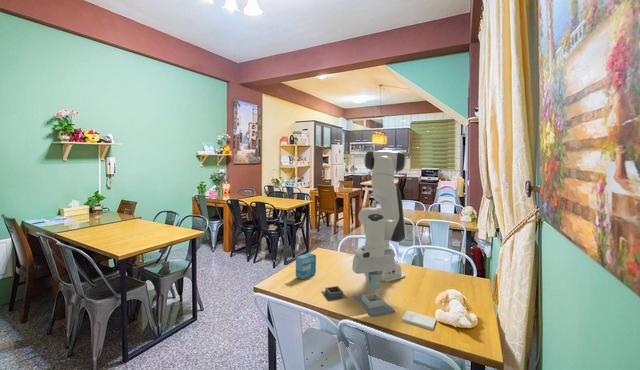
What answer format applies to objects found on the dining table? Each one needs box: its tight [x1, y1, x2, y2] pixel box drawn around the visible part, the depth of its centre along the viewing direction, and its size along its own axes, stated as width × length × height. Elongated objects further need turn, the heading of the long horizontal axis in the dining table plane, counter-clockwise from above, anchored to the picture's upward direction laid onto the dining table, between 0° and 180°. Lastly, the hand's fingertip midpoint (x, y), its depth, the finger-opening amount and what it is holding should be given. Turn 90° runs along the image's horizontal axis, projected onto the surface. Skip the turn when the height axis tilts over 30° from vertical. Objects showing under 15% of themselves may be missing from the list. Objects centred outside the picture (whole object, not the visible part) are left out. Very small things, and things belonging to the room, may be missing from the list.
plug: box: [367, 271, 381, 291], centre depth 133 cm, size 4×4×8 cm
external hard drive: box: [401, 310, 438, 331], centre depth 122 cm, size 2×8×12 cm
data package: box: [295, 252, 317, 280], centre depth 165 cm, size 12×4×12 cm, turn 138°
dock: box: [352, 292, 396, 318], centre depth 134 cm, size 12×18×4 cm, turn 19°
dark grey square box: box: [321, 285, 348, 302], centre depth 141 cm, size 10×10×4 cm
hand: (373, 280), depth 133 cm, fingers closed on plug, 4 cm apart
